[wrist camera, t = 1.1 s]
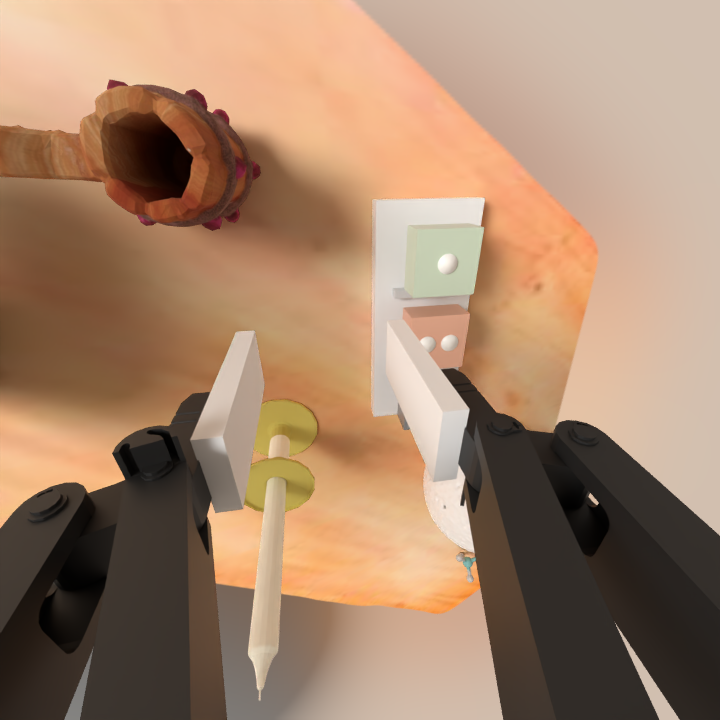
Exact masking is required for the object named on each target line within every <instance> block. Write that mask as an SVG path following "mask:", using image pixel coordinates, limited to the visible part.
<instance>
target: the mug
mask: <svg viewBox="0 0 720 720" xmlns="http://www.w3.org/2000/svg"><path fill="white" fill-rule="evenodd" d="M95 103H96V111H95V113H93V114H91V115H89V116H87V117H84V118H83V119H82V121H81V124H80V133H79V134H70V133H65V132H63V131H61V130H56V131H51V130H49V131H41V130H33V129H25V128H23V127H21V126H19V125H18V126H12V127H9V126H0V176H1V177H21V178H40V179H68V180H86V181H95V182H104V183H105V189H106V193H107V195H108V196H109V197H110V198H111V199H112V200H113V201H114V202H115V203H117V204H118V205H120V206H121V207H122V208H124V209H125V210H127V211H128V212H130V213H132V214H134V215H137V216H138V218H139V220H140V222H141V223H143V224H144V225H146V226H148V225H154V224H155V223H161V224H164V225H168V226H177V227H188V226H194V225H199V224H202V225H203V226H204V227H205V228H207V229H210V230H212V231H213V230H217V229H220V227H221V223H222V219H221V217H225V218H226V219H227V220H228V221H230V222H234V223H235V222H236V221H237V220H238V219H239V215H240V214H239V210H238V207H239V206H240V205H241V204H242V203H243V202H244V200H245V199H246V197H247V196H248V193H249V191H250V188H251V184H252V180H253V179H256V178H258V177H259V176H260V173H261V172H260V167H259V166H258V165H257V164H256V163H255V162H254V161H251V160H250V157H249V154H248V152H247V150H246V148H245V146H244V144H243V142H242V141H241V139H240V138H239V136H238V135H237V134H236V132H235V131H234V130H233V129H232V128H231V127H230V126H229V117H228V115H227V114H226V112H225V111H223V110H221V109H216V110H215V111H214V112H213V113H211V112H209V111H207V107H208V106H207V103H206V100H205V98H204V96H203V95H202V94H201V93H200V92H198V91H197V90H195V89H193V90H189V91H186V93H185V95H184V94H181V93H178V92H176V91H174V90H171V89H169V88H164V87H160V86H155V85H134V86H128V85H127V84H125V83H124V82H119V81H114V80H109V83H108V86H107V90H106V91H105V92H103V93H102V94H101V95H100V96H98V97H97V99H96V101H95Z"/></svg>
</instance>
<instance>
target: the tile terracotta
mask: <svg viewBox="0 0 720 720" xmlns="http://www.w3.org/2000/svg"><path fill="white" fill-rule="evenodd" d="M469 319H470V313H469V312H467V311H466V310H465V309H463V308H462V307H461V306H460V305H458V304H449V305H434V306H419V307H404V308H403V320H405V322H406V323H407V324H408V326H409V327H410V329H411V330H412V331H413V333H414V334H415V335H416V337H417V338H418V339H419V341H420V342H421V344H422V345H423V346H424V348H425V349H426V350H427V352H428V353H429V354H430V356H431V357H432V359H433V360H434V361H435V363H436V364H437V365H438V367H439V368H451V367H462V363H463V356H464V350H465V344H466V338H467V332H468V325H469Z"/></svg>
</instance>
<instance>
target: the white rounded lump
mask: <svg viewBox="0 0 720 720" xmlns="http://www.w3.org/2000/svg"><path fill="white" fill-rule="evenodd" d="M423 479H424V480H423V483H424V484H423V488H424V495H425V501H426V503H427V508H428V510H429V513H430V515H431V517H432V519H433V520H434V522H435V524H436V525H437V526H438V528H440V530H441V531H442V532H443V533H444V534H445V535H446V536H447V537H448V538H449V539H451V540H452V541H453V542H454V543H455V544H457V545H458V546H459V547H461V548H464V549H466V550H467V551H469V552H473V553H475V552H474V546H473V541H472V535H471V529H470V523H469V517H468V512H467V506H466V500H465V503H464V506H460V501H461V495H462V490H463V486H464V481H465V475H464V473H463V472H462V470H461V468H460V466H459V468H458V473H457V479H453V480H446V481H439V482H433V481H432V478H431V476H430V474H429V471H428V469H427V467H426V466H425V471H424V477H423Z"/></svg>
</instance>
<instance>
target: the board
mask: <svg viewBox="0 0 720 720" xmlns="http://www.w3.org/2000/svg"><path fill="white" fill-rule="evenodd" d="M484 202H485V198H481V197H450V198H404V199H372V338H371V409H372V412H373V416H374V417H377V416H387V415H396V414H397V411H398V400H397V398H396V396H395V394H394V391H393V389H392V387H391V384H390V382H389V380H388V378H387V375H386V347H387V321H391V320H403V308H404V307H419V306H434V305H449V304H458V305H460V306H461V307H462V308H463V309H465V310H466V311H468V304H469V298H470V295H454V296H438V297H422V298H412V296H411V295H410V294H409V293H408V292H407V291H406V290H405V289H404V284H405V266H406V248H407V230H408V225H429V224H460V223H470V224H474V225H478V226H481V221H482V214H483V208H484ZM451 368H454V369H456V370H458V368H459V367H451ZM440 369H450V368H440Z"/></svg>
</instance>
